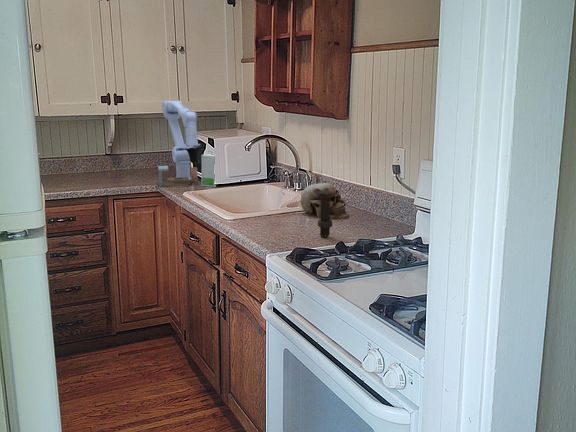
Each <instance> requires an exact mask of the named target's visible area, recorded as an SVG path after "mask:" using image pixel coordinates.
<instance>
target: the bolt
mask: <svg viewBox="0 0 576 432" xmlns="http://www.w3.org/2000/svg"><path fill="white" fill-rule="evenodd" d="M317 196H318V197H319V198H320V218H319V220H318V221H317V226H318V227H319V230H320V231H319V234H320V235H319V236H320V237H321V238H322V239H324V238H325V237H326V238H328V237H329V236H330V229H331V228H332V227H333V220H331V219H330V202H331V198H332V197H334V192H332V191H319V192H317Z"/></svg>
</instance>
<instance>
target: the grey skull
mask: <svg viewBox="0 0 576 432" xmlns="http://www.w3.org/2000/svg"><path fill="white" fill-rule="evenodd" d="M319 191H332V192H334V197H332V198H331V202H330V220H331V219H332V220H343V219H345V220H346V219H348V218H349V215H348V213H347V212H346V207H345V200H344V199H342V196H341V195H340V192H339V190H338V189H337V188H335V186H334V185H332V184H331V183H327V182H319V183H314V184H310V185H307V186H306V187H304V189H303V190H302V193H301V195H300V207H301V208H302V210H303V211H304V212H306V214H308V215H309V216H317V218H319V219H320V198H319V197H318V196H317V192H319Z"/></svg>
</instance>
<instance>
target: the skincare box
mask: <svg viewBox="0 0 576 432" xmlns="http://www.w3.org/2000/svg"><path fill="white" fill-rule="evenodd" d="M211 154H212V153H206V154H201V187H208V188H217V187H216V185H215V184H214V181H215V174H214V165H215V156H214V155H211Z"/></svg>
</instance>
